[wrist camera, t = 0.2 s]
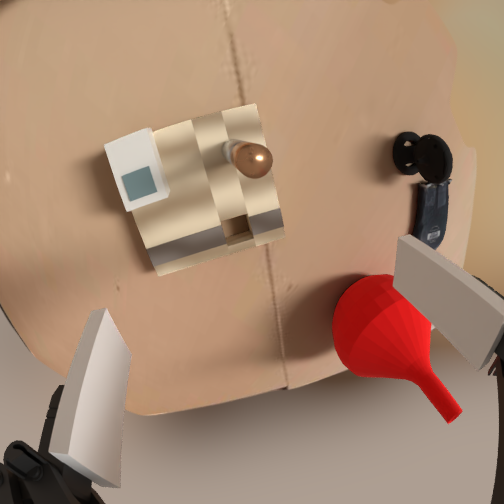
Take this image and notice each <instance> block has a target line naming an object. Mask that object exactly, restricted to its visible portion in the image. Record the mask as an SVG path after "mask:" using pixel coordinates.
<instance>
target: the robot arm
mask: <svg viewBox="0 0 504 504" xmlns="http://www.w3.org/2000/svg"><path fill="white" fill-rule="evenodd" d="M393 287H394V288H395V289H396V290H397V291H398V292H399V293H400V294H401V295H403V296H404V297H405V298H406V299H407V300H408V301H409V302H410V303H411V304H412V305H413V306H414V307H415V308H416V309H417V310H418V311H419V312H420V313H421V314H423V315H424V316H425V317H426V318H427V319H428V320H429V321H430V322H431V323H432V324H433V325H434V326H435V327H436V328H437V329H438V330H439V331H440V332H441V333H442V334H443V335H444V336H445V337H446V338H447V339H448V340H449V341H450V342H451V344H452V345H453V346H454V347H455V348H456V349H457V350H458V351H459V352H460V353H461V354H462V355H463V356H464V357H465V358H466V359H467V360H468V361H469V363H470V364H471V365H472V366H473V367H474V368H475V369H476V370H477V371H479V370H480V369H482V368H483V367H484V366H485V365H486V364H487V363H488V362H489V361H490V359H491V357H492V355H493V353H494V352H495V353H496V354H497V357H496V359H495V361H494V362H493V364H492V366H491V367H490V369H489V371H488V375H490V374H491V373H492V371H493V369H494V368H495V367H496V370H495V371H494V373H493V375H494V376H497V385H498V401H499V444H498V458H497V469H496V477H495V483H494V489H493V495H492V500H491V504H504V297H503V296H502V295H501V294H499V293H498V292H497V291H494V289H493V288H492V287H490V286H488V285H487V284H486V283H485V282H484V281H482V280H481V279H480V278H477V277H475V276H473V275H470V274H469V273H467V272H466V271H465V270H463V269H462V268H460V267H459V266H458V265H456V264H455V263H453V262H452V261H450V260H449V259H447V258H446V257H444V256H443V255H441V254H440V253H438V252H437V251H435V250H434V249H432V248H431V247H429V246H428V245H426V244H425V243H423V242H421V241H420V240H418V239H417V238H415V237H413V236H412V235H410V234H408V235H405V236H401V237H398V243H397V254H396V263H395V272H394V280H393ZM131 356H132V354H131V352H130V351H129V349H128V347H127V345H126V344H125V342H124V340H123V338H122V337H121V335H120V333H119V331H118V329H117V327H116V326H115V324H114V322H113V320H112V318H111V316H110V314H109V312H108V310H107V308H103V309H99V310H94V311H91V313H90V316H89V318H88V320H87V323H86V325H85V328H84V331H83V333H82V336H81V338H80V341H79V344H78V347H77V349H76V352H75V355H74V358H73V361H72V364H71V367H70V370H69V373H68V376H67V379H66V382H65V385H59V387H58V388H57V390H56V391H55V392H54V394H53V395H52V398H51V402H50V405H49V410H48V412H47V416H46V417H47V419H45V423H44V427H43V432H42V436H41V440H40V445H39V449H38V452H36V451H35V450H33V449H32V448H31V447H30V446H29V445H27V444H26V443H24V442H23V441H14V442H12V443H11V444H10V445H9V446H8V447H7V449H6V451H5V453H4V459H3V460H4V464H2V463H0V504H105V503H104V502H103V500H102V499H101V497H100V496H99V495H98V493H97V492H96V491H95V490H94V489H93V488H92V487H91V485H92V484H91V483H92V481H93V482H94V483H96V484H98V485H100V486H102V487H112V488H120V477H121V475H120V474H121V448H122V432H123V420H124V410H125V400H126V392H127V384H128V376H129V369H130V362H131Z"/></svg>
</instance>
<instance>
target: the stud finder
mask: <svg viewBox="0 0 504 504" xmlns="http://www.w3.org/2000/svg"><path fill="white" fill-rule="evenodd" d="M104 147H105V150H106V153H107V157H108V160H109V163H110V166H111V169H112V172H113V175H114V178H115V181H116V184H117V187H118V190H119V192H120V195H121V198H122V201H123V203H124V206H125V209H126V211H127V212H128V211H131V210H134V209H136V208H139V207H142V206H145V205H147V204H150V203H153V202H156V201H159V200H162V199H165V198H168V196H169V193H170V188H169V185H168V182H167V179H166V176H165V172H164V169H163V166H162V163H161V159H160V156H159V153H158V150H157V146H156V143H155V139H154V136H153V133H152V129H151V128H145V129H142V130H139V131H137V132H134V133H131V134H129V135H126V136H124V137H121V138H119V139H116V140H114V141H112V142H109V143H107V144H105V145H104Z"/></svg>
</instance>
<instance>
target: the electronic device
mask: <svg viewBox="0 0 504 504" xmlns="http://www.w3.org/2000/svg"><path fill="white" fill-rule="evenodd" d="M451 181H452V179H447V180H446V181H445V182H443V183H441V184H432V183H429V182H427V184H425V185H424V184H420V183H419V185H418V186H419V192H418V205H417V217H416V224H415V226H414V231H413V237H415V238H417V239H418V240H420V241H421V242H423V243H425V244H426V245H428V246H429V247H431V248H432V249H434V250H436V249H437V247H438V246H439V245H440V244H441V242H442V240H443V238H444V235H445V231H446V224H447V216H448V199H449V195H448V184H450V182H451Z"/></svg>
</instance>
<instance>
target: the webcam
mask: <svg viewBox="0 0 504 504" xmlns="http://www.w3.org/2000/svg"><path fill="white" fill-rule="evenodd" d="M428 138H429V139H428ZM408 140H412V141H414V142H415V143H416V145H415V146H409V147H406V146H404V144H405V142H406V141H408ZM393 157H394V161H395V164H396V166H397V168H398V169H399V170H400V171H401V172H402V173H403V174H406V175H414V174H416V173H418V172H419V173H420V174H421V176H422V177H423V178H424V179H425V180H426V181H428V182H429V183H432V184H441V183H443V182H445V181H446V180H447V179H448V178H449V177H450V174H451V172H452V168H453V166H452V163H453V158H452V154H451V152H450V149H449V147H448V145H447V144H446V143H445V141H444V140H443V139H441V138H440V137H438V136H436V135H432V134H428V135H424V136H422V137H421V138H420V137H419V136H418V135H417V134H416V133H414V132H404V133H402V134H401V135H400V136H399V137H398V138H397V140H396V142H395V144H394V149H393ZM407 163H415V164H414V165H413V166H411V167H407V166H406V164H407Z"/></svg>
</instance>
